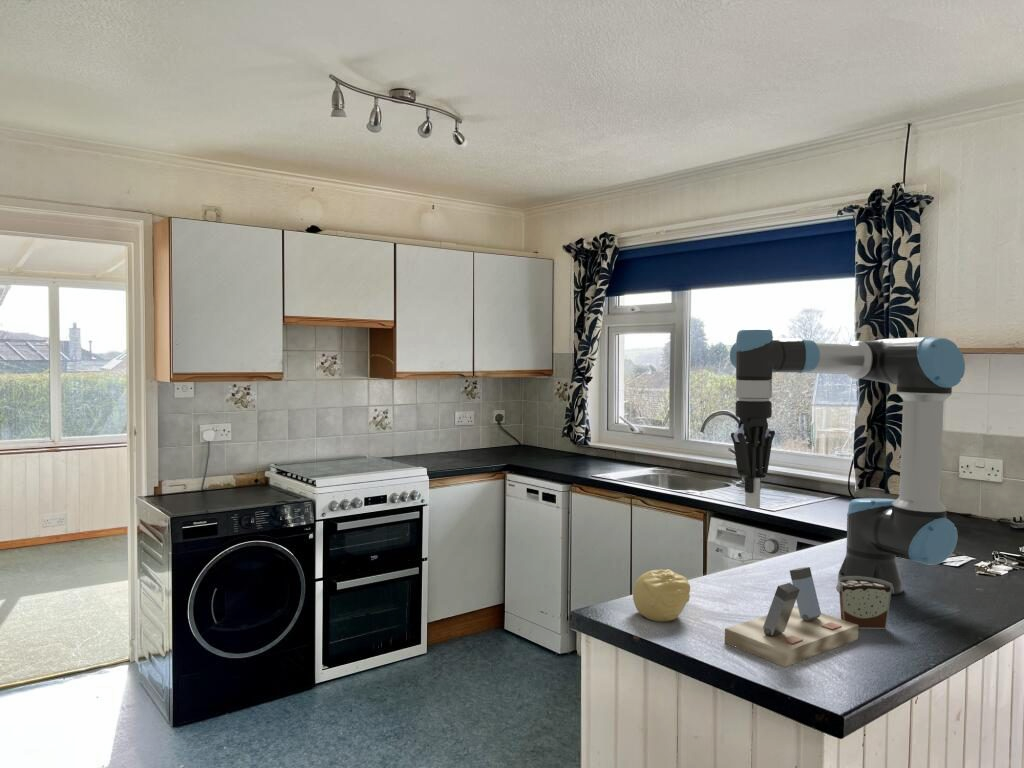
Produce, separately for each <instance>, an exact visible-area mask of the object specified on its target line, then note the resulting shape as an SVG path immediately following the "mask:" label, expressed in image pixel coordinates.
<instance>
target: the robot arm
mask: <svg viewBox="0 0 1024 768" xmlns="http://www.w3.org/2000/svg"><path fill="white" fill-rule="evenodd" d="M729 359H730V360H729V361H730V363H731V365H732V366H733V367H734V368H735V378H736V379H735V398H737V399H738V400H736V401H735V417H736V418H739V422H738V425H737V426H738V427H737V428H738V430H736V432H732V431H731V433H730V437H731V440H732V442H733V448H734V456H735V461H736V462H735V463H736V468H737V474H738V475H739V476H740V477H741V478H744V492H745V496H744V497H745V499H744V501H745V502H744V506H745V507H746V508H751V509H761V488H762V487H761V483H762V481H761V479H762V478H763V479H764V478H765V477H766V475H767V474H768V470H769V465H770V458H771V453H772V452H771V450H772V446H773V440H774V437H775V434H776V431H775V430H773V429H770V428H769V424H768V423H769V422H768V419H770V418H771V417H772V415H773V413H772V412H773V411H772V410H773V403H772V402H771V401H770V399H772V398H773V373H798V374H802V373H804V374H824V375H825V374H826V375H827V374H831V375H847V376H848V377H849V378H851V379H855V380H857V379H858V380H859V379H861V380H867V381H868V380H869V381H873V382H880V383H884V384H890V385H896V391H895V392H896V394H897V395H898V396H899V397H900V398H901V399H902V417H901V418H902V421H901V422H902V423H901V441H900V442H901V443H900V444H901V445H900V446H901V449H900V467H899V468H900V469H899V470H900V471H899V472H900V473H899V491H898V492H899V493H898V495H899V496H898V498H896V499H894V498H875V497H874V498H871V497H868V498H867V497H866V498H855V499H851V500H850V501H849V504H848V511H847V514H846V516H847V517H846V520H847V521H846V550H845V551H846V554H845V557H844V559H843V561H842V563H841V566H840V569H839V571H838V574H837V582H838V581H839V579H840V578H842V577H846V576H862V577H870V578H875V579H880V580H883V581H886V582H889V583H891V584H892V587H893V588H894V593H892V592H891V596H896V595H900V594H901V593H903V585H904V584H903V580H902V576H901V573H900V570H899V566H898V563H897V557H901V558H904V559H906V560H909V561H912V562H914V563H916V564H924V565H929V566H936V565H940V564H941V563H944V562H945V561H947V559H948V558H950V556H951V555H952V554H953V552H954V550H955V549H956V546H957V543H958V537H959V536H958V529H957V527H956V526H955V523H954V522H952V521H951V520H950V519H949V518H947V507H946V506H945V505H944V504H943V503H942V502H941V499H940V498H941V479H942V477H941V476H942V475H941V474H942V455H943V454H942V453H943V432H944V431H943V428H944V409H945V405H944V404H945V401H946V400H947V399H949V397H951V396H952V392H953V387H955V386H958V384H960V382H961V381H962V379H963V377H964V375H965V372H966V371H965V370H966V362H965V358H964V355H963V352H962V350H961V348H960V347H958V346H957V344H956V343H955V342H954V341H952V340H950V339H948V338H944V337H937V336H936V337H933V336H927V337H922V336H921V337H891V338H884V339H882V338H881V339H876V340H863V341H862V340H856V341H855V340H854V341H852V342H850V343H849V344H845V343H830V342H829V343H826V342H815V341H814V340H812V339H809V338H808V339H807V338H803V337H801V338H774V336H773V331H772V330H771V329H768V328H745V329H741V330H738V332H737V334H736V340H735V343H733V345H732V346H731V348H730V351H729ZM899 593H900V594H899ZM895 594H896V595H895Z"/></svg>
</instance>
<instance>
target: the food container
mask: <svg viewBox="0 0 1024 768" xmlns="http://www.w3.org/2000/svg"><path fill="white" fill-rule="evenodd" d="M835 589H836V592H838V593H839V606H840V608H839V609H840V619H842V620H845V621H848V622H851V623H854V624H857V625H859V629H860V630H866V629H867V630H872V629H873V630H886V629H887V624H888V617H889V612H890V611H889V610H890V603H891V597H892V595H891V592H892V593H894V588H893V587H892V584H891V583H889V582H886V581H883V580H880V579H875V578H870V577H862V576H846V577H842V578H840V579H839V581H838V580H837V583H836V587H835ZM859 629H858V630H859Z"/></svg>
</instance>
